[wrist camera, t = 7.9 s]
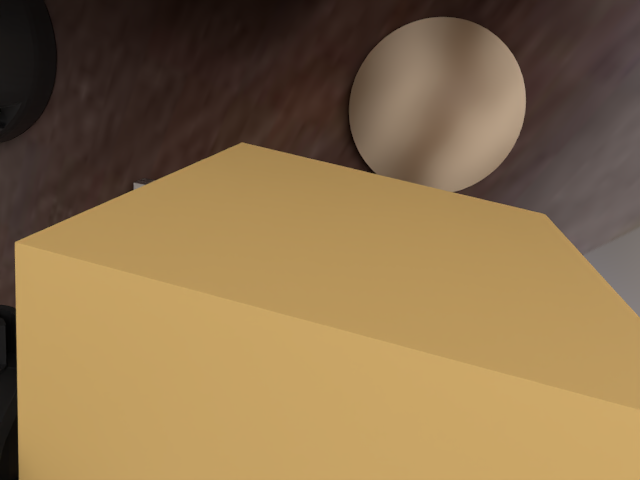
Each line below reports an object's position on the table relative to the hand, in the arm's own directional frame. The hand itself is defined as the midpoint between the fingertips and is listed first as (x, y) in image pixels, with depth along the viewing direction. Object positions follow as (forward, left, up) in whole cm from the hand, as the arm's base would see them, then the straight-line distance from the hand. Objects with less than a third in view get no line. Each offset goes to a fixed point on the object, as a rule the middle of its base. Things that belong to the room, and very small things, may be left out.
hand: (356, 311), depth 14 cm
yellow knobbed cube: (0, 0, 0) cm, 0 cm away
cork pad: (+3, +4, -22) cm, 22 cm away
